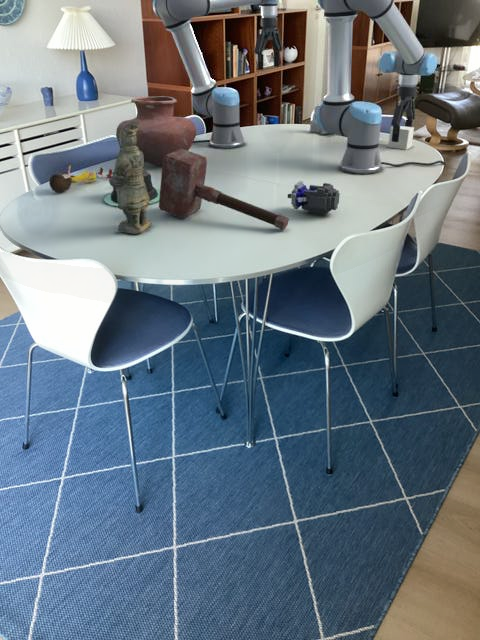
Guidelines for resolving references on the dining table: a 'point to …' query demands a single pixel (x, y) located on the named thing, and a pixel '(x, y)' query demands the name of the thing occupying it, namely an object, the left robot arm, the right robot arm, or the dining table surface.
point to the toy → (315, 198)
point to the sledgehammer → (200, 190)
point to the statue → (131, 182)
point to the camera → (314, 125)
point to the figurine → (74, 179)
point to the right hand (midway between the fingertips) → (401, 138)
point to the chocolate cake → (152, 192)
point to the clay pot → (160, 128)
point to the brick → (402, 138)
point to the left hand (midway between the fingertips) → (268, 68)
